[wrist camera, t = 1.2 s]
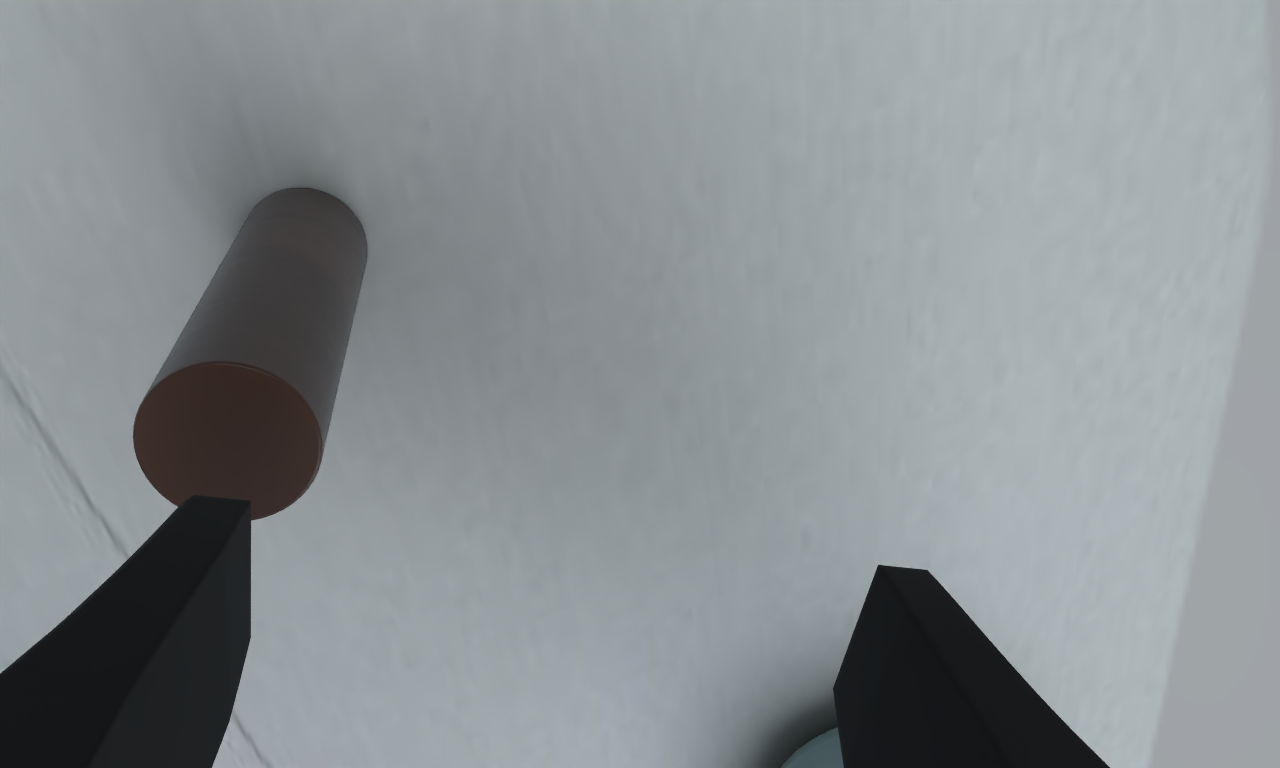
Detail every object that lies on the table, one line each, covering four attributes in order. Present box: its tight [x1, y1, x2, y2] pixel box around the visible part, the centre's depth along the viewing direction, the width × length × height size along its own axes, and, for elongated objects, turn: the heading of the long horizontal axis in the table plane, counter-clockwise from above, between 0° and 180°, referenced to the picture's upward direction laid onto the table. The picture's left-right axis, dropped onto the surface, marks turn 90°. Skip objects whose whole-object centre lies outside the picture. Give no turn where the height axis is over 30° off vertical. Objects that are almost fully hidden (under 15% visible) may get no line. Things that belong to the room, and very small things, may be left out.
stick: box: [133, 188, 367, 520], centre depth 21 cm, size 3×3×9 cm
